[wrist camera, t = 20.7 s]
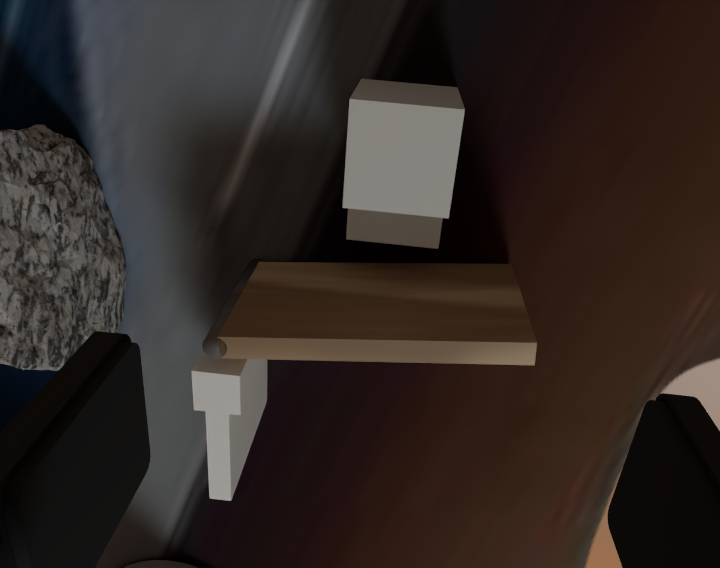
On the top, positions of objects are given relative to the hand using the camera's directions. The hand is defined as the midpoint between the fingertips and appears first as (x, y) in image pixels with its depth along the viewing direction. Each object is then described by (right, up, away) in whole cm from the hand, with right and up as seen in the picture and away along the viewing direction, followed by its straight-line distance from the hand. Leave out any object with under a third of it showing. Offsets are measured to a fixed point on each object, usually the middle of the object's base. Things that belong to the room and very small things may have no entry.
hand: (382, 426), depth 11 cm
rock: (-18, +6, +26) cm, 33 cm away
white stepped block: (+2, +10, +22) cm, 24 cm away
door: (+1, +3, +26) cm, 26 cm away
